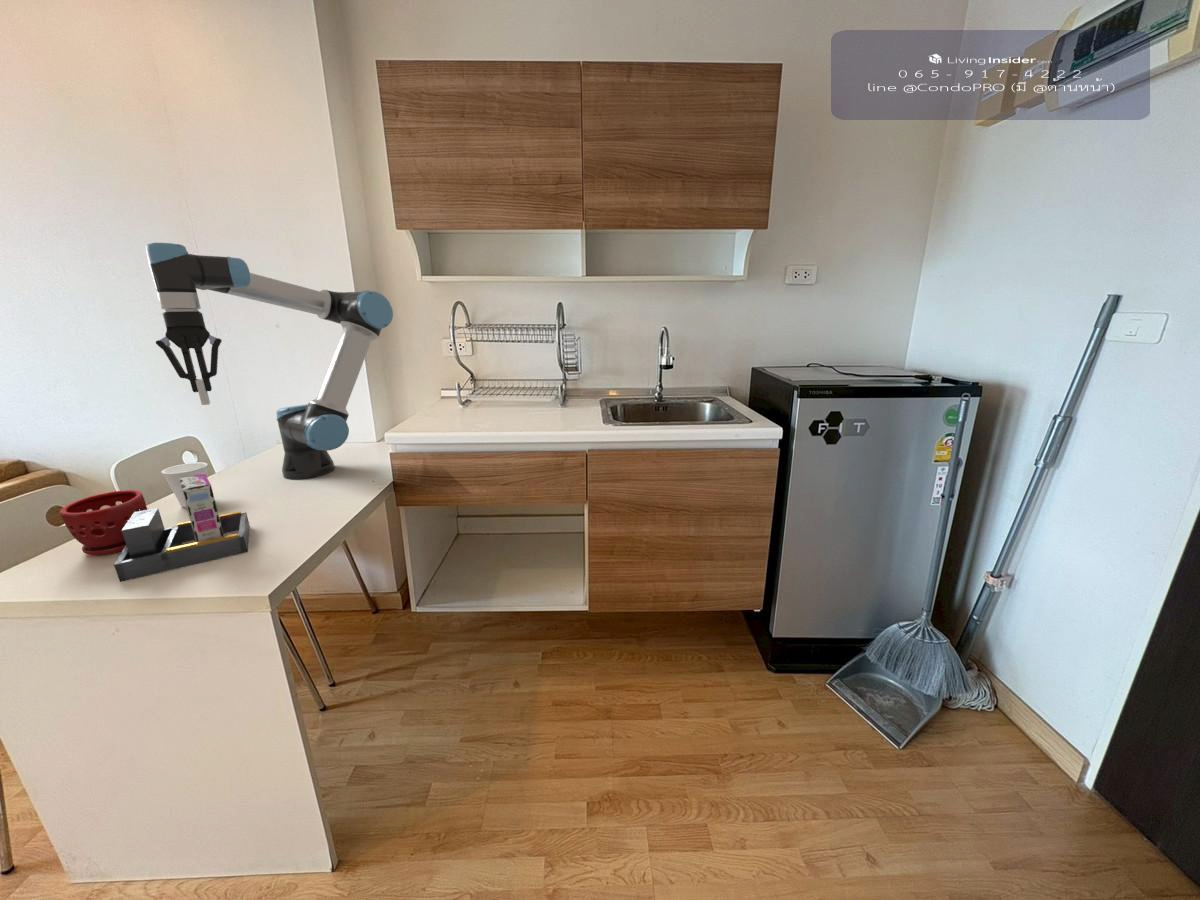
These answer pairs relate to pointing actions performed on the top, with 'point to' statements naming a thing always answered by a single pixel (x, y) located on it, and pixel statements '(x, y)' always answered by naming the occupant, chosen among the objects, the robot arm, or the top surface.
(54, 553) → the top surface
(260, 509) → the top surface
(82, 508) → the plant pot
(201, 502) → the candy bar box
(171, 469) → the cup
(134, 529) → the tray
